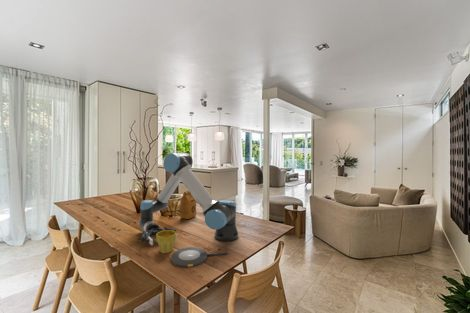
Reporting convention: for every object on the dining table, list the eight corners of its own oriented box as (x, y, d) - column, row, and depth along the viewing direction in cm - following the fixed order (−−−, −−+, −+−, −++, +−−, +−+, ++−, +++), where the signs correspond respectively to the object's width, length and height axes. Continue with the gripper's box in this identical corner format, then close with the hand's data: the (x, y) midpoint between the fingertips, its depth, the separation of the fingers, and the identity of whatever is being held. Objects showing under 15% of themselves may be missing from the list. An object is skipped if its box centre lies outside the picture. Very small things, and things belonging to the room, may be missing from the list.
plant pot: (159, 257, 118) (159, 238, 118) (153, 249, 126) (153, 232, 126) (178, 251, 124) (178, 234, 124) (172, 245, 132) (172, 228, 132)
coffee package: (198, 216, 188) (198, 190, 187) (188, 220, 177) (188, 192, 176) (188, 214, 192) (188, 188, 191) (178, 218, 181) (178, 191, 181)
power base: (224, 246, 131) (224, 244, 131) (232, 262, 113) (232, 259, 113) (171, 251, 124) (171, 249, 124) (170, 269, 106) (170, 266, 106)
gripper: (170, 230, 150) (185, 240, 134) (130, 239, 135) (141, 252, 118) (170, 219, 150) (185, 228, 133) (130, 227, 134) (141, 238, 118)
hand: (164, 239), depth 126 cm, fingers open, 13 cm apart
